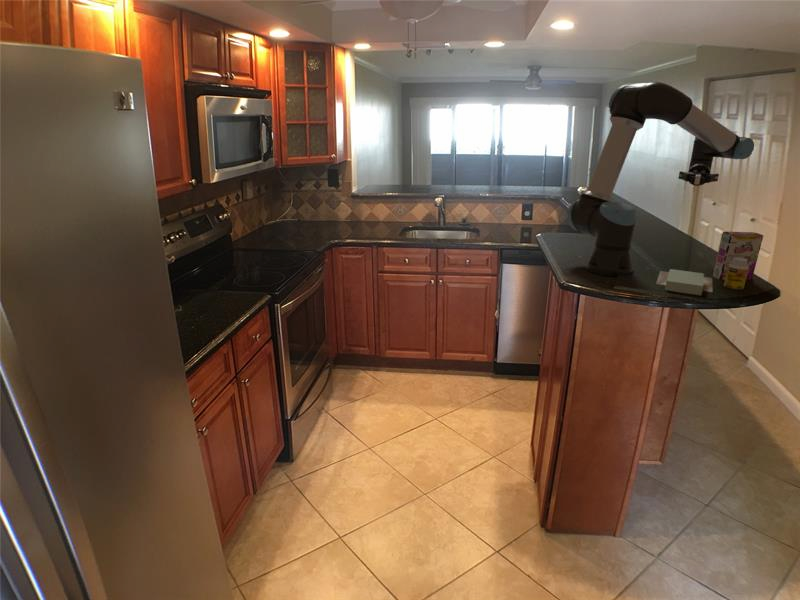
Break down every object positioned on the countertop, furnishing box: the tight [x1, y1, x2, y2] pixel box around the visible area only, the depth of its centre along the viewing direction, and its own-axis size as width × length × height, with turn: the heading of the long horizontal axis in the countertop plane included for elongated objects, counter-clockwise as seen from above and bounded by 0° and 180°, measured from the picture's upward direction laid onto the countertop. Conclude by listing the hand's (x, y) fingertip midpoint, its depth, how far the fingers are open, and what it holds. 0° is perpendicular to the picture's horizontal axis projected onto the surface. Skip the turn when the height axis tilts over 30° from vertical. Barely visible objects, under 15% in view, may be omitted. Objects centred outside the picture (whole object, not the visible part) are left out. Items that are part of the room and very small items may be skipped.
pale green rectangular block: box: [664, 268, 705, 296], centre depth 171 cm, size 10×3×16 cm
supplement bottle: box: [723, 258, 749, 291], centre depth 170 cm, size 6×6×10 cm
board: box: [655, 270, 714, 293], centre depth 177 cm, size 16×18×1 cm
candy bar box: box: [712, 231, 764, 281], centre depth 180 cm, size 11×5×16 cm, turn 92°
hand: (697, 180), depth 181 cm, fingers closed
